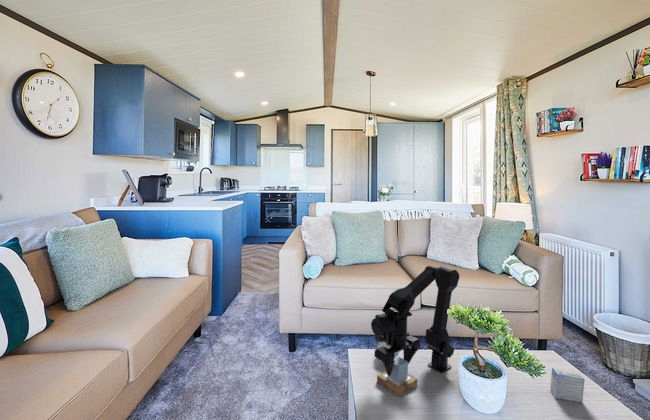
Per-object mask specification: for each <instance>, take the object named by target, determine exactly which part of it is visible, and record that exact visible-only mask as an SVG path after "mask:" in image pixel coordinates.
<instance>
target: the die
mask: <svg viewBox="0 0 650 420" xmlns="http://www.w3.org/2000/svg"><path fill="white" fill-rule="evenodd" d="M382 346H384V347H386V348H388V349H389V348H391V347H390V345H389V346H388V345H387V344H386V342H379V341H378V346H377V347H376V349H378V348H380V347H382ZM400 352H401V351H399V352H397V353H395V354H394V355H395V356H399V354H400Z"/></svg>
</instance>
